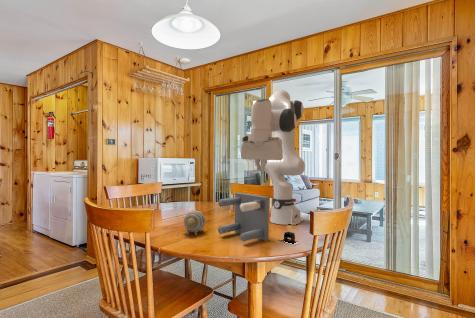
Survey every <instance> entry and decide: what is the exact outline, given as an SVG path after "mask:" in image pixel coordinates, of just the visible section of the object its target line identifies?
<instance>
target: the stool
mask: <svg viewBox="0 0 475 318" xmlns="http://www.w3.org/2000/svg"><path fill="white" fill-rule="evenodd" d="M254 200H261V210H259V211H256V210H249V211H244V212H242V211H241V210H240V205H241V204H242V203H249V202H254ZM218 206H219V207H221V208H222V207H228V206H234V223H230V224H225V225H220V226H218V228H217V232H218V233H219V234H220V235H223V234H226V233H231V232H235V233H238V234H240V240H241V241H242V242H247V241H249V240H253V239H258V240H261V241H264V242H266V241H269V229H270V228H269V227H270V226H269V225H270V223H269V221H270V197H269V196H263V195H257V194H252V193H251V194H250V193H245V192H244V193H242V192H235V193H234V197H229V198H221V199H218Z"/></svg>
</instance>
